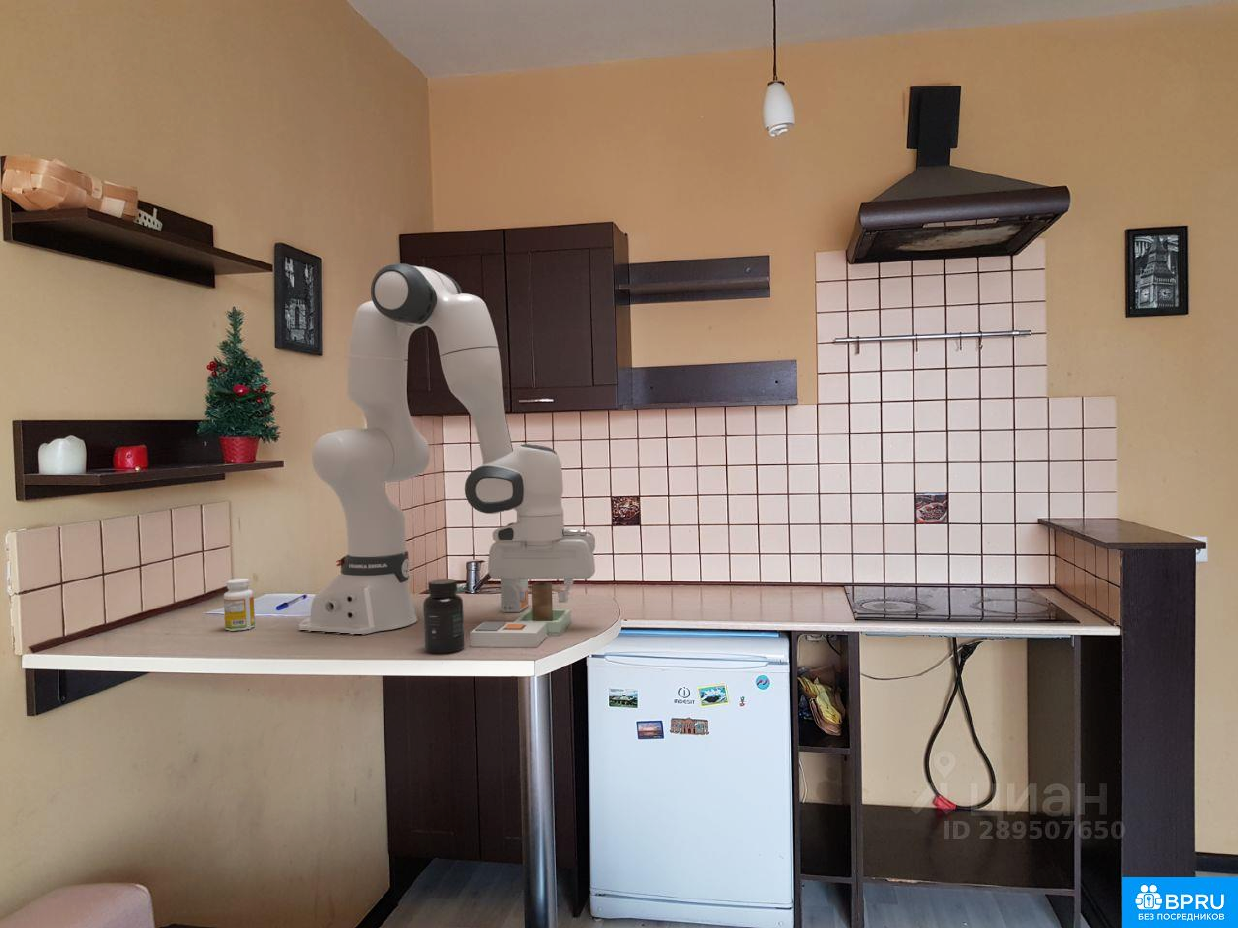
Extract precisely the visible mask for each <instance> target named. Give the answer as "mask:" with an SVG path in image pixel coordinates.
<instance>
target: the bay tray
mask: <svg viewBox="0 0 1238 928" xmlns="http://www.w3.org/2000/svg"><path fill="white" fill-rule="evenodd" d="M513 622H547V637H548V636H553V637H554V636H555V637H556V636H557V637H558V636H562V633H563V632H564V631H565V630H566V629H567V628H568V627H569V626H570V625H571V623H572V609H570V608H569V609H568V608H567V609H564V608H562V609H561V608H560V609H556V608H555V609H554V608H553V621H533V617H532V608H531V609H529V608H527V610H525V611H524V612H523V613H522V614H521V615H520V616H518V618H516V620H514V621H513ZM566 627H567V628H566Z"/></svg>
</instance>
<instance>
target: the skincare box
mask: <svg viewBox="0 0 1238 928" xmlns="http://www.w3.org/2000/svg"><path fill="white" fill-rule="evenodd" d="M519 586H520V588H521V590H522V591H523V592H527V596H526V597H527V601H526V602H517V593H516V592H515V591H514V589H513V587H512V586H511V579H500V592H501V594H500V595H501V596H500V597H501V598H500V601H501V603H500V604H501V612H503V613H509V612H510V613H520V612H522V611H523V610H525V609H526V608H528V607H529V579H521V582H520V583H519Z"/></svg>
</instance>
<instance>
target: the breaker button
mask: <svg viewBox="0 0 1238 928" xmlns="http://www.w3.org/2000/svg"><path fill="white" fill-rule="evenodd" d="M524 627H525V624H508V625H507V626H506V627H505V628H504V630H522V629H523V628H524Z"/></svg>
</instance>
